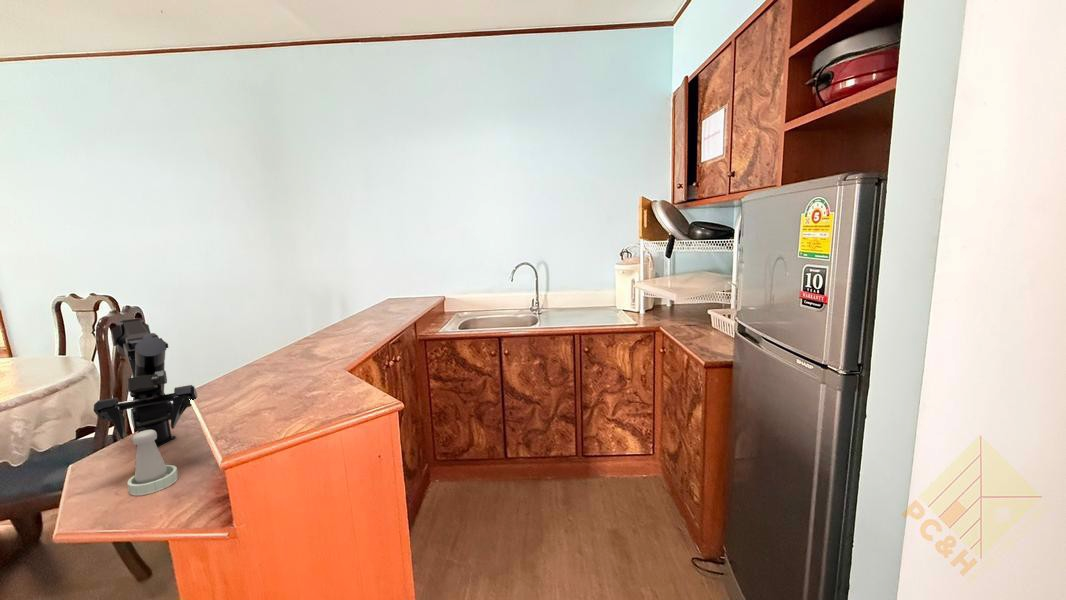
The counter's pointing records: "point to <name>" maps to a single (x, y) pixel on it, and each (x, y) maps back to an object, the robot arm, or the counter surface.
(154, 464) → the salt shaker
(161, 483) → the pale green shallow dish
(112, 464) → the counter surface
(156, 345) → the robot arm
